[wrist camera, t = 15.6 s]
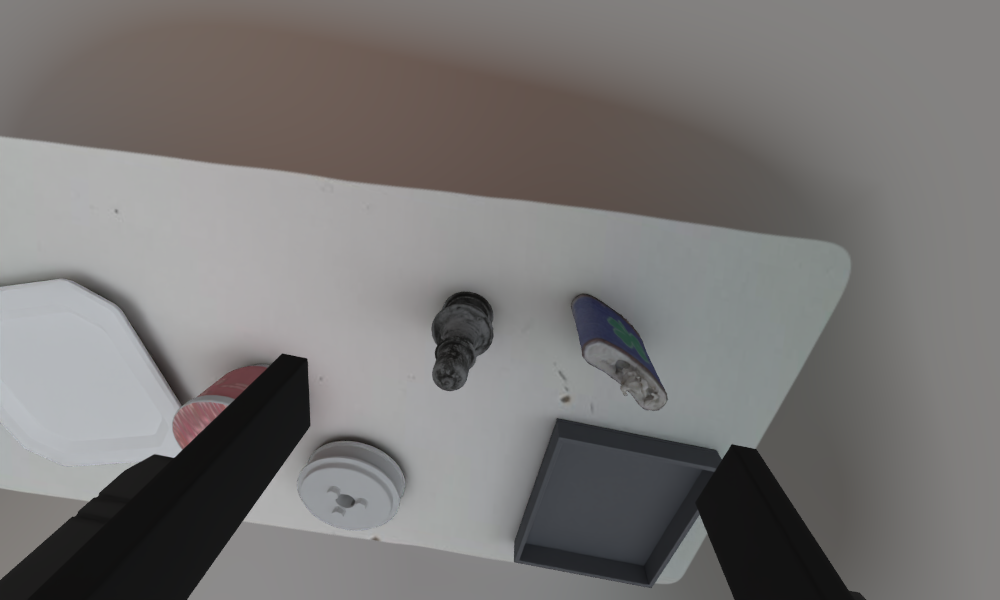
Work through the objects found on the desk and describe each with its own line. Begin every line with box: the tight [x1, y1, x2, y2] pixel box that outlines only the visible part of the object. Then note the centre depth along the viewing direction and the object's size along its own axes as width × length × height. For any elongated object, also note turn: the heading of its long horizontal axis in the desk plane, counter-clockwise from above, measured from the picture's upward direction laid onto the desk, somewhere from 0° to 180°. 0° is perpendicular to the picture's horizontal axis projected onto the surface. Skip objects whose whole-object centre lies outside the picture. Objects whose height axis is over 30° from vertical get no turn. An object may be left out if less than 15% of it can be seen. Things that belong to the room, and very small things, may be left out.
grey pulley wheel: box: [297, 441, 405, 531], centre depth 48 cm, size 13×13×5 cm
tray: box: [514, 419, 722, 588], centre depth 49 cm, size 23×19×3 cm
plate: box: [0, 278, 182, 467], centre depth 46 cm, size 25×25×2 cm
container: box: [172, 364, 270, 450], centre depth 42 cm, size 10×10×8 cm
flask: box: [571, 294, 668, 411], centre depth 34 cm, size 9×3×11 cm, turn 49°
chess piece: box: [432, 292, 493, 391], centre depth 34 cm, size 6×6×12 cm
